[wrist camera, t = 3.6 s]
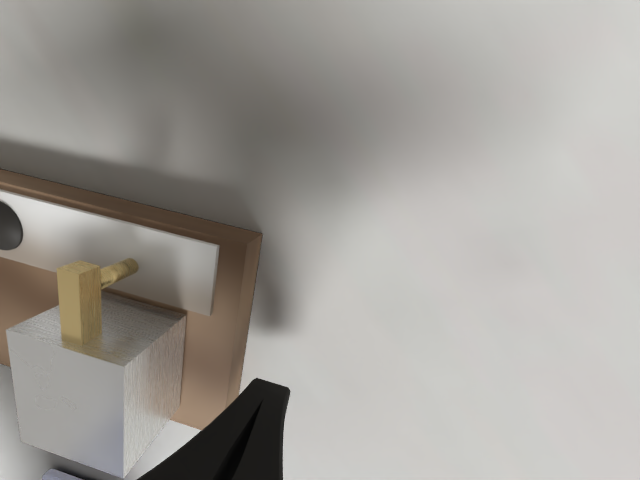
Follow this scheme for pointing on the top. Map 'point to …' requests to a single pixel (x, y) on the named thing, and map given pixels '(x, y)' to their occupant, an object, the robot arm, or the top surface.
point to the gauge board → (146, 284)
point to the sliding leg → (96, 370)
